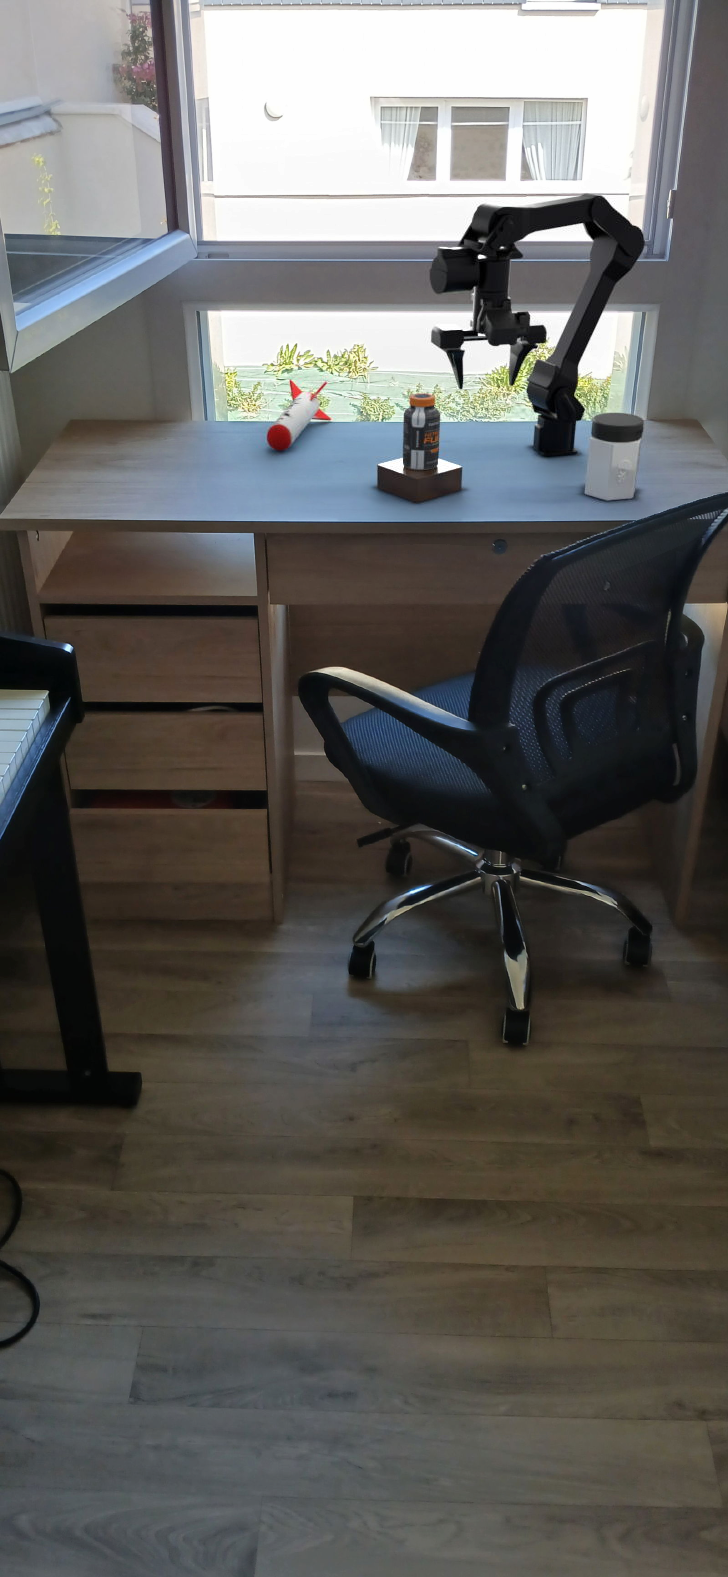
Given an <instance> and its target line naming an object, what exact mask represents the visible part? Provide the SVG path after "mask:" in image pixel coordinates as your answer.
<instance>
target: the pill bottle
mask: <svg viewBox="0 0 728 1577" xmlns="http://www.w3.org/2000/svg"><path fill="white" fill-rule="evenodd" d="M435 405H436V397H435V395H434V394H432V393H425V392H424V393H423V392H422V393H421V392H419V393H418V392H417V393H413V394H412V393H411V395H410V396H409V407H408V408H406V409H405V410H404V413H403V424H402V426H403V428H402V429H403V430H402V431H403V432H402V434H403V435H402V458H403V465H404V466H405V467H407V468H410V469H414V470H428V469H432V468H435V467H436V466H437V465H438V459H440V458H439V456H440V455H439V454H440V434H441V433H440V432H441V430H440V429H441V413H440V410H439V409H438V408H436V406H435Z"/></svg>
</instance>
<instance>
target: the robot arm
mask: <svg viewBox="0 0 728 1577" xmlns="http://www.w3.org/2000/svg"><path fill="white" fill-rule="evenodd" d="M581 224H582V225H583V228H584V231H585V233H586V235H587V236H588V237H589V238H590V239H591V240H592V245H591V248H590V251H589V272H588V276H587V277H586V280H585V282H584V284H583V285H582V289H581V290H580V293H579V295H578V296H577V300H576V302H575V304H574V306H573V308H572V311H571V313H570V315H569V317H568V318H567V321H566V323H565V326H564V328H563V330H562V332H561V334H560V337H559V339H558V341H557V344H556V346H555V347H554V349H553V351H552V353H551V355H550V356H548V357H547V358H546V359H544V360H543V359H540V358H537V359H536V361H535V362H534V364H533V368H532V371H531V372H530V375H528V377H527V378H526V382H528V383H527V385H526V390H525V392H526V395H527V399H528V400H529V402H530V403H531V406H532V410H533V413H535V414H536V413H537V414H538V415H537V423H535V424H534V428H533V430H534V431H533V440H532V442H533V443H532V444H531V447H532V448H533V449H534V450H535V451H537V452H538V453H539V454H541V455H542V456H543V457H554V456H555V457H556V456H566V455H576V454H578V450H577V449H576V448H575V439H576V431H577V430H576V428H577V422H580V421H582V419H583V416H584V414H585V411H586V407H584V406H583V404H582V403H581V401H580V400H579V399H578V398H577V397H576V396H575V394H576V392H577V388H578V385H579V364H580V362H581V360H582V358H583V355H584V353H585V351H586V349H587V347H588V345H589V343H590V340H591V339H592V336H593V334H594V332H595V329H596V328H597V326H598V323H599V321H600V319H601V317H602V314H603V312H604V310H605V308H606V306H607V305H608V303H609V302H608V301H609V300H610V297H611V295H612V293H613V291H614V289H615V287H616V285H617V284H618V282H619V281H621V280H622V279H623V278H624V277H625V276H626V275H627V274H629V272H631V271H632V269H633V268H634V266H635V265H636V263H637V262H638V260H639V258H640V257H641V255H642V254H643V252H644V248H645V245H646V240H645V236H644V232H643V230H642V229H641V227H639V226H637V225H634V224H632V223H631V221H629V219H628V218H627V217H626V216H625V215H623V214H622V213H621V212H619V211H618V210H617V209H616V208H615V207H613V206H612V205H611V203H610V202H609V200H608V199H606V197H605V196H604V195H600V194H594V193H588V192H587V193H586V192H585V193H583V194H581V195H576V196H572V197H566V198H559V199H554V200H549V201H542V202H536V203H531V204H530V203H529V204H523V205H522V204H512V203H498V202H483V203H481V204H480V205H478V206H477V207H476V209H475V211H474V213H473V215H472V218H471V222H470V224H469V225H468V226H467V229H466V230H465V232H464V233H463V235H462V236H461V239H460V240H459V242H458V243H457V245H456V247H446V246H438V247H437V249H436V255H435V257H434V258H433V260H432V261H431V265H430V267H429V282H430V286H431V289H432V291H433V292H434V293H435V294H436V295H445V294H446V295H447V294H457V293H458V294H459V293H469V292H471V291H473V293H471V301H472V319H470V320H469V327H471V328H466V329H465V328H461V327H460V326H458V325H457V324H454V323H451V324H435V325H434V326H433V327H432V329H431V331H430V343H432V344H433V345H435V346H436V347H437V348H439V349H440V350H442V351H443V352H444V353H445V354H446V356H447V358H448V361H449V363H450V366H451V368H452V372H453V376H454V379H455V381H456V384H457V387H458V389H459V390H463V388H464V356H465V353H466V349H464V348H462V346H463V345H464V344H465V342H478V341H479V342H480V341H481V342H482V341H487V343H488V344H489V345H490V346H492V347H499V346H505V345H506V346H507V345H509V347H510V348H509V364H508V385H509V386H510V387H513V386H514V385H515V383H516V381H517V378H518V375H519V373H520V370H521V368H522V366H523V364H524V361H525V360H526V358H527V356H528V355H529V354H530V353H531V352H532V351H533V350H535V349H536V350H537V349H538V348H539V344H540V345H541V344H546V343H547V336H548V331H547V328H546V326H545V325H544V324H543V323H541V322H539V321H536V320H535V319H531V314H530V312H529V311H528V310H526V311H524V310H523V311H517V312H513V310H512V298H511V297H510V296H509V293H510V280H511V279H510V278H511V264H512V263H511V262H512V260H520V259H523V257H524V254H523V253H522V252H521V251H520V250H519V249H518V248H517V246H516V244H515V243H516V242H520V241H523V240H524V239H525V238H526V237H527V236H528V235H531V234H534V233H537V232H542V231H546V230H553V229H559V228H563V227H568V226H569V227H570V226H576V225H581Z"/></svg>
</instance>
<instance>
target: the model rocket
mask: <svg viewBox="0 0 728 1577" xmlns="http://www.w3.org/2000/svg"><path fill="white" fill-rule="evenodd" d="M327 384H328V382H327V381H325V382H323V384H322V385H321V386H319V388H318V389H317V390H316V392H315V393H313V392H311V391H302V390H301V389H300V388H299V387H298V385H296V383H295V382H294V381H293V380H292V379H290V380H289V386H290V393H291V399H292V402H290V404H289V405H288V406H287V407H286V409H285V410H284V411H283V412H282V413H281V414H280V415H279V417H278V418H277V419H276V420H275V421H274V423H272V425H271V426H270V427H269V428H268V430H267V432H266V441H267V443H268V446H269V447H270V448H271V449H273V450H275V451H278V452H283V451H285V450H288V449H289V448H290V447H291V446H292V444H293V443H294V442H295V441H296V439H297V438H298V437H299V436H300V434H301V433H302V432H303V431H304V429H305V428H306V427H307V425H309V423H310V422H311V420H314V421H328V422H329V421H330V422H331V421H332V418H331V417H330V416H329V415H328V414H326V413H325V412H324V411H323V410H321V409H320V401H319V398H318V397H317V396H318V395H319V394H320V393H321V391H322V390H323V389H324V388H325V386H326V385H327Z"/></svg>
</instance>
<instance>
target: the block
mask: <svg viewBox="0 0 728 1577" xmlns="http://www.w3.org/2000/svg"><path fill="white" fill-rule="evenodd" d="M376 467H377V468H376V469H377V470H376V471H377V474H376V476H377V477H376V480H377V482H376V487H377V489H379V490H381V491H384V492H386V493H390V494H392V495H395V496H397V497H399V498H402V499H405V500H408V501H409V502H412V503H415V504H419V503H422V502H426V501H429V500H433V499H437V498H439V497H443V496H446V495H450V494H454V493H457V492H461V491H462V486H463V483H462V482H463V466H461V465H459V464H455V463H453V462H449V461H447V460H444V459H440V458H438V465H437V466H436V467H435V468H432V469H428V470H414V469H410V468H407V467H405V466H404V465H403V457H401V458H397V459H393V460H389V461H385V462H382V463H378V464H377V465H376Z"/></svg>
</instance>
